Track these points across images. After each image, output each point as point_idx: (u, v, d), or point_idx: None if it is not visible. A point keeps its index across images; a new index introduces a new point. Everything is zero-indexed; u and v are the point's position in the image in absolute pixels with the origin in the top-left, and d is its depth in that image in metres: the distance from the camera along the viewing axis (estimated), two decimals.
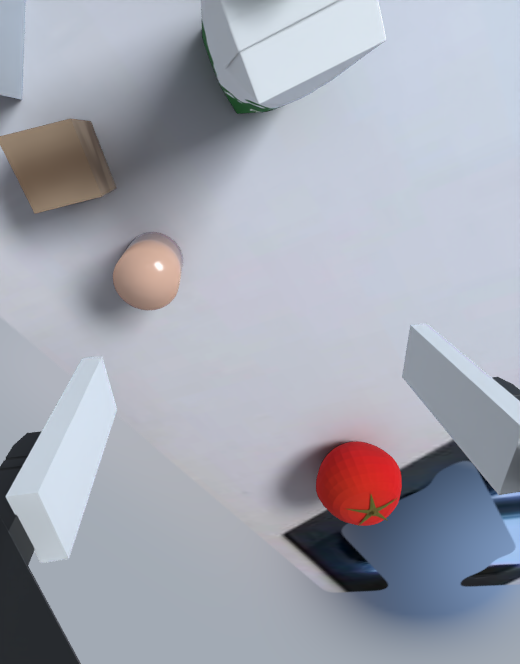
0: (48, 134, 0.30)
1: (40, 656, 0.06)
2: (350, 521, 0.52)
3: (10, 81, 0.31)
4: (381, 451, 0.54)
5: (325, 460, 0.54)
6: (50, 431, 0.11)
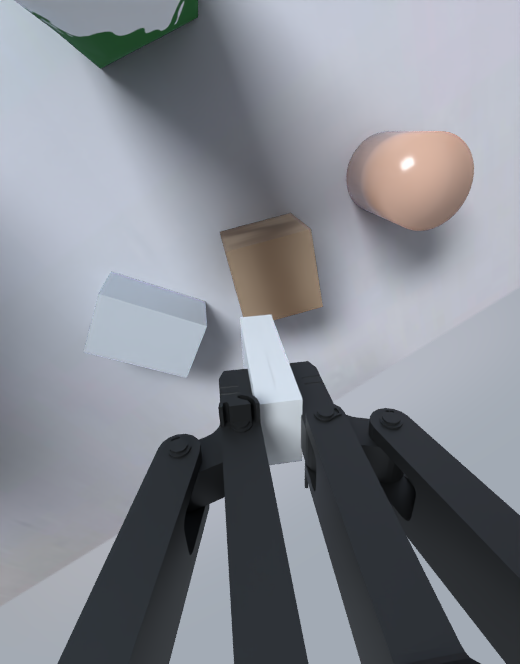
0: (242, 278, 0.26)
1: (265, 544, 0.08)
2: None
3: (192, 308, 0.31)
4: None
5: None
6: (256, 365, 0.14)
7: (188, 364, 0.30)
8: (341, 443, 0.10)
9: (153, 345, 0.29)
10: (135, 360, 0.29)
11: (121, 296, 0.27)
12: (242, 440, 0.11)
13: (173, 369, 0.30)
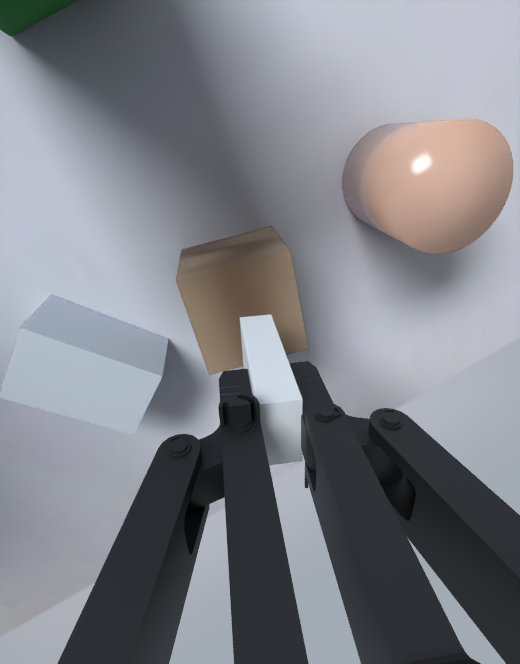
0: (200, 314, 0.20)
1: (265, 544, 0.08)
2: None
3: (149, 349, 0.24)
4: None
5: None
6: (256, 365, 0.14)
7: (136, 419, 0.24)
8: (341, 443, 0.10)
9: (92, 394, 0.23)
10: (67, 411, 0.23)
11: (52, 332, 0.21)
12: (242, 440, 0.11)
13: (116, 424, 0.24)
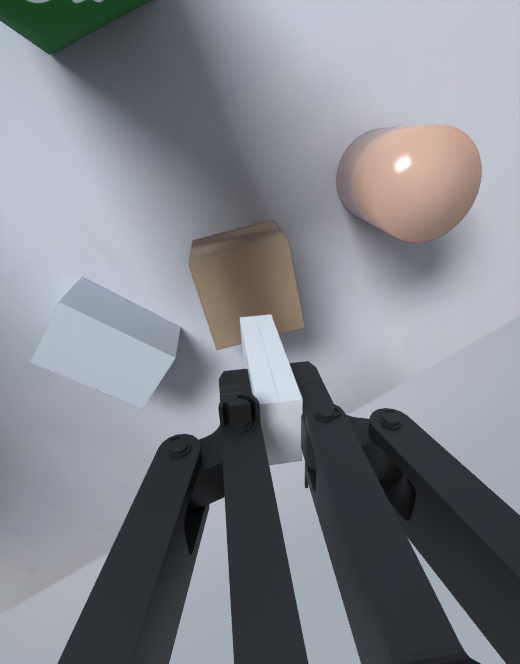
0: (209, 294, 0.23)
1: (265, 544, 0.08)
2: None
3: (164, 334, 0.28)
4: None
5: None
6: (256, 365, 0.14)
7: (147, 394, 0.27)
8: (341, 443, 0.10)
9: (111, 367, 0.26)
10: (87, 380, 0.26)
11: (84, 309, 0.24)
12: (242, 440, 0.11)
13: (129, 397, 0.27)
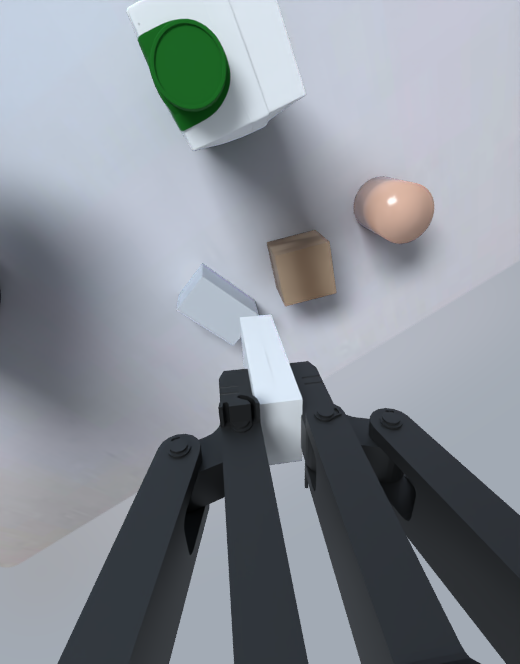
0: (284, 273, 0.41)
1: (265, 544, 0.08)
2: None
3: (249, 301, 0.46)
4: None
5: None
6: (256, 365, 0.14)
7: (237, 337, 0.45)
8: (341, 443, 0.10)
9: (221, 318, 0.43)
10: (206, 325, 0.43)
11: (213, 281, 0.42)
12: (242, 440, 0.11)
13: (227, 337, 0.45)
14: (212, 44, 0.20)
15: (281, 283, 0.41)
